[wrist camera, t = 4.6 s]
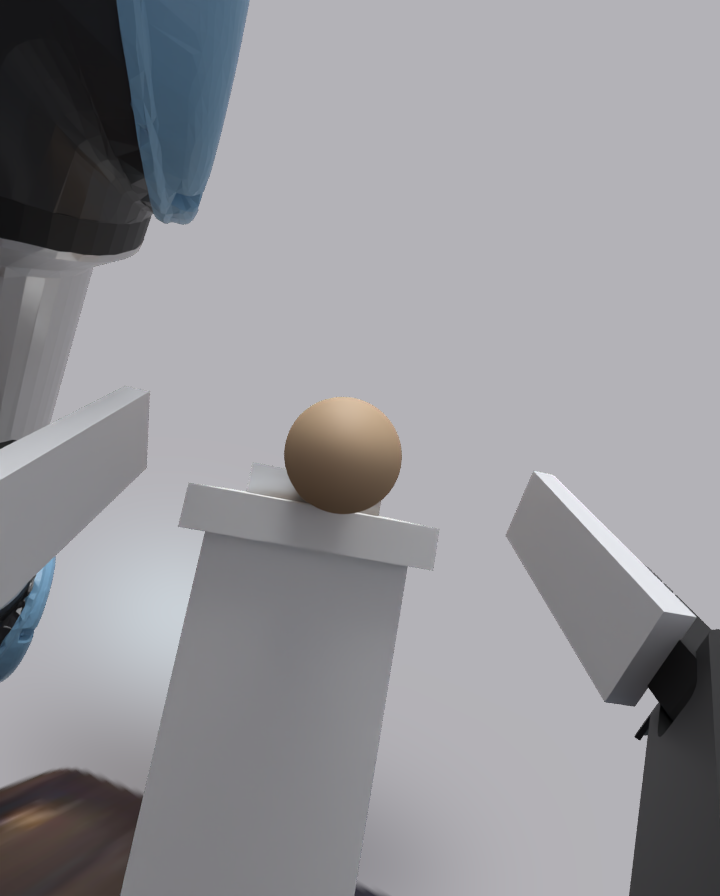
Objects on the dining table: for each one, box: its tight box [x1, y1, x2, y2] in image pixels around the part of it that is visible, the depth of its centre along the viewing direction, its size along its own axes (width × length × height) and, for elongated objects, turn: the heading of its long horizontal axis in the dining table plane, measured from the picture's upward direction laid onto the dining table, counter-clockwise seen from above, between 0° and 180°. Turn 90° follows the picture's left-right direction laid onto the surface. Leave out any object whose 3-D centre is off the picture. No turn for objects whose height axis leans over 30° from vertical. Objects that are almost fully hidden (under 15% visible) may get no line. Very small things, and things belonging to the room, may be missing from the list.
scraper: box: [246, 397, 402, 516], centre depth 22 cm, size 23×9×3 cm, turn 8°
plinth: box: [120, 483, 439, 896], centre depth 25 cm, size 14×12×30 cm
